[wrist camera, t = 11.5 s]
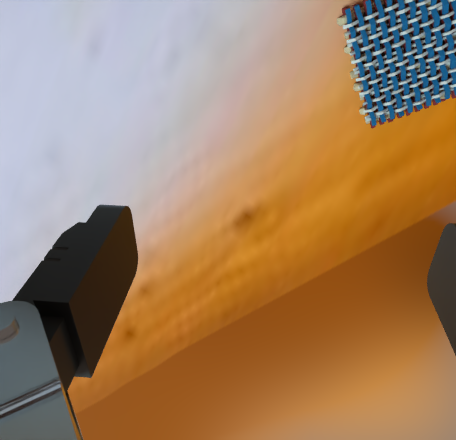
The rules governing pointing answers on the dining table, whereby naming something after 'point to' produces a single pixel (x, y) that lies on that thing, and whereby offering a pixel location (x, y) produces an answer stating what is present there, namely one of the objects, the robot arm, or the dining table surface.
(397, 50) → the woven mat
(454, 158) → the dining table surface
